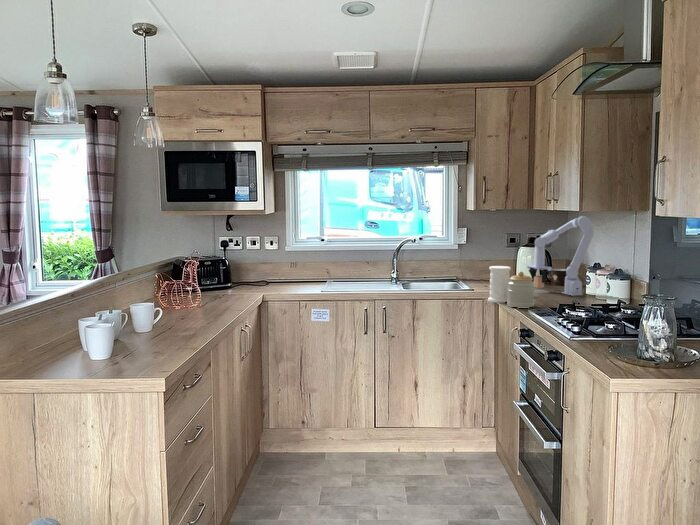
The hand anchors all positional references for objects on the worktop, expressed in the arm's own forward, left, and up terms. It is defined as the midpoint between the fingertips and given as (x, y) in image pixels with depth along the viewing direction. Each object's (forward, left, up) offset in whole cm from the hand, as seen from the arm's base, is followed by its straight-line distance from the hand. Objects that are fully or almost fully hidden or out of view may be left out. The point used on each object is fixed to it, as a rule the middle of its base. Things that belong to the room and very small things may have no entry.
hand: (538, 282), depth 312 cm
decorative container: (-19, +33, -6) cm, 39 cm away
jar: (-36, +30, -6) cm, 47 cm away
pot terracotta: (0, 0, -3) cm, 3 cm away
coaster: (0, 0, -6) cm, 6 cm away
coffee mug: (+21, -25, -6) cm, 33 cm away
